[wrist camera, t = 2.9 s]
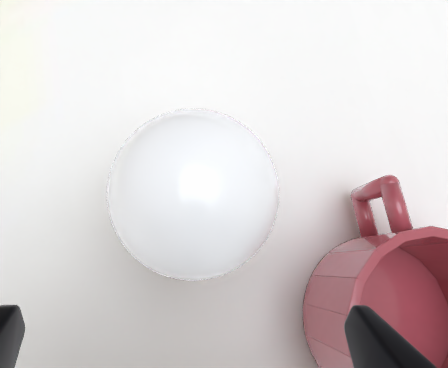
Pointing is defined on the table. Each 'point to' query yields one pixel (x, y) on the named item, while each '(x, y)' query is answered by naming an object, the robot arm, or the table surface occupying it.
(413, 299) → the mug
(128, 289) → the table surface
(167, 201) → the lightbulb
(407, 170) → the table surface
